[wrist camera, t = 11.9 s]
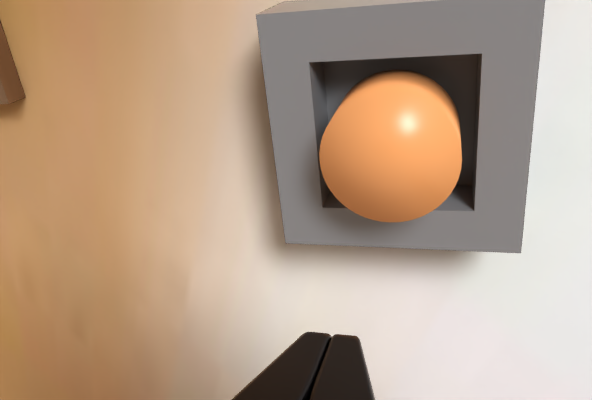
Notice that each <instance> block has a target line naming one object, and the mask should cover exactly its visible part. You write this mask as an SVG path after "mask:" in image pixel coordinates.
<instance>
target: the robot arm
mask: <svg viewBox="0 0 592 400" xmlns="http://www.w3.org/2000/svg"><path fill="white" fill-rule="evenodd" d="M232 400H375V397H374V393H373V389H372V386H371V382H370V378H369V374H368V370H367V366H366V362H365V358H364V354H363V351H362V347H361V343H360V340H359V338H358V337H357V336H351V335H339V334H335V335H334V336H332V337H331V335H329V334H327V333H316V332H306V333H304V334H303V335H301V336H300V337H299V338H298V339H297V340H296V341H295V342H294V343H293V344H292V345H291V346H289V347H288V348H287V349H286V350H285V351H284V352H283V353H282V354H281V355H280V356H279V357H277V358H276V359H275V360H274V361H273V362H272V363H271V364H270V365H269V366H268V367H267V368H265V369H264V370H263V371H262V372H261V373H260V374H259V375H258V376H257V377H256V378H255V379H253V380H252V381H251V382H250V383H249V384H248V385H247V386H246V387H245V388H244V389H243V390H241V391H240V392H239V393H238V394H237V395H236V396H235V397H234V398H233V399H232Z"/></svg>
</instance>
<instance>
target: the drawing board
mask: <svg viewBox="0 0 592 400" xmlns="http://www.w3.org/2000/svg"><path fill="white" fill-rule="evenodd" d="M22 98H25V94H24V91H23V88H22V85H21V82H20V79H19V76H18V73H17V70H16V67H15V64H14V61H13V58H12V55H11V52H10V49H9V46H8V43H7V40H6V37H5V34H4V31H3V28H2V25H1V22H0V104H10V103H12V102H15V101H17V100H20V99H22Z"/></svg>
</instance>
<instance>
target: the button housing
mask: <svg viewBox="0 0 592 400" xmlns="http://www.w3.org/2000/svg"><path fill="white" fill-rule="evenodd" d="M544 6H545V0H298V1H286V2H281V3H279V4H277V5H275V6H273V7H271V8H269V9H267V10H264V11H262V12H260V13H258V14H256V19H257V27H258V34H259V42H260V50H261V57H262V65H263V73H264V81H265V88H266V96H267V104H268V111H269V119H270V127H271V134H272V142H273V150H274V158H275V165H276V173H277V181H278V188H279V196H280V204H281V212H282V219H283V227H284V235H285V242H286V243H292V244H316V245H339V246H363V247H387V248H410V249H434V250H458V251H482V252H505V253H521V247H522V236H523V226H524V215H525V205H526V194H527V184H528V174H529V163H530V153H531V142H532V132H533V121H534V111H535V100H536V90H537V79H538V69H539V59H540V48H541V38H542V27H543V17H544ZM386 70H408V71H413V72H417V73H420V74H422V75H425V76H427V77H429V78H431V79H432V80H434V81H435V82H437V83H438V84H439V85H440V86H442V87H443V89H444V90H445V91H446V92H447V93H448V94H449V96H450V97H451V99H452V100H453V102H454V104H455V106H456V109H457V112H458V115H459V120H460V133H461V150H462V165H461V171H460V175H459V179H458V181H457V183H456V186H455V187H454V189H453V191H452V192H451V194H450V195H449V196H448V198H447V199H446V200H445V201H444V202H443V203H442V204H441V205H440V206H439V207H437V208H436V209H434V210H433V211H432V212H430V213H428V214H426V215H424V216H422V217H419V218H417V219H413V220H410V221H404V222H380V221H375V220H371V219H368V218H365V217H363V216H360V215H358V214H356V213H354V212H353V211H351V210H349V209H348V208H347V207H345V206H344V205H343V204H342V203H341V202H340V201H339V200H338V199H337V198H336V197H335V196H334V195H333V193H332V192H331V191H330V189H329V188H328V186H327V184H326V182H325V180H324V178H323V174H322V171H321V167H320V157H319V152H320V144H321V140H322V136H323V134H324V132H325V129H326V127H327V126H328V124H329V122H330V121H331V119H332V117H333V115H334V114H335V112H336V110H337V109H338V107H339V105H340V104H341V102H342V100H343V99H344V97H345V96H346V94H347V93H348V92H349V91H350V89H351V88H352V87H354V86H355V85H356V84H357V83H358V82H360V81H361V80H362V79H364V78H366V77H368V76H370V75H372V74H375V73H378V72H382V71H386Z"/></svg>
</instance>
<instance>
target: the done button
mask: <svg viewBox="0 0 592 400" xmlns="http://www.w3.org/2000/svg"><path fill="white" fill-rule="evenodd" d="M319 157H320V167H321V171H322V174H323V178H324V180H325V182H326V184H327V186H328V188H329V189H330V191H331V192H332V193H333V195H334V196H335V197H336V198H337V199H338V200H339V201H340V202H341V203H342V204H343V205H344V206H345V207H347V208H348V209H349V210H351V211H353V212H354V213H356V214H358V215H360V216H363V217H365V218H368V219H371V220H375V221H380V222H404V221H410V220H413V219H417V218H419V217H422V216H424V215H426V214H428V213H430V212H432V211H433V210H434V209H436V208H437V207H439V206H440V205H441V204H442V203H443V202H444V201H445V200H446V199H447V198H448V196H449V195H450V194H451V192H452V191H453V189H454V187H455V186H456V183H457V181H458V179H459V175H460V171H461V165H462V150H461V133H460V120H459V115H458V112H457V109H456V106H455V104H454V102H453V100H452V99H451V97H450V96H449V94H448V93H447V92H446V91H445V90H444V89H443V87H442V86H440V85H439V84H438V83H437V82H435V81H434V80H432V79H431V78H429V77H427V76H425V75H422V74H420V73H417V72H413V71H408V70H386V71H382V72H378V73H375V74H372V75H370V76H368V77H366V78H364V79H362V80H361V81H360V82H358V83H357V84H356V85H355V86H354V87H352V88H351V89H350V91H349V92H348V93H347V94H346V96H345V97H344V99H343V100H342V102H341V104H340V105H339V107H338V109H337V110H336V112H335V114H334V115H333V117H332V119H331V121H330V122H329V124H328V126H327V127H326V129H325V132H324V134H323V136H322V140H321V144H320V152H319Z"/></svg>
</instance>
